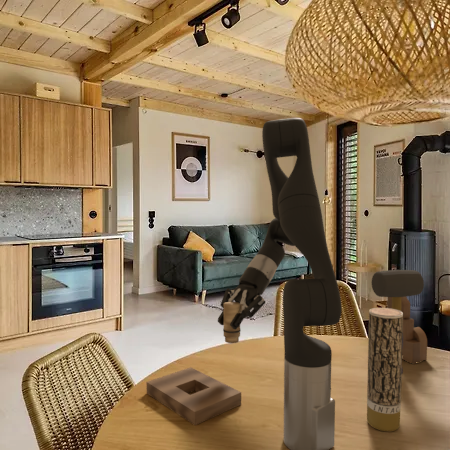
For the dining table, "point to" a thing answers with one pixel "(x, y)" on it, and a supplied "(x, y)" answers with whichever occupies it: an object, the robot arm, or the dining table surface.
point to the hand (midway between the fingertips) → (226, 325)
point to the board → (193, 395)
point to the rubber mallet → (397, 286)
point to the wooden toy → (411, 335)
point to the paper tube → (384, 368)
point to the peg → (229, 314)
